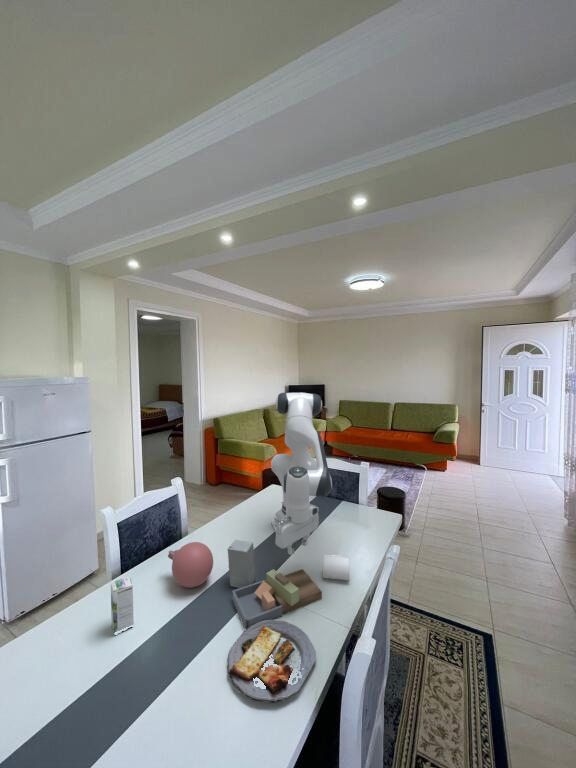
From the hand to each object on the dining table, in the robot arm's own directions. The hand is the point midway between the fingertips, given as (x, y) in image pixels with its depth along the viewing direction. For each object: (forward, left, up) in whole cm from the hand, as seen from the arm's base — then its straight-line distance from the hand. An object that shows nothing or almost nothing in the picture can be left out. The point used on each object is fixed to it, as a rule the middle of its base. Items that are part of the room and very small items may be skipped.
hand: (297, 549), depth 117 cm
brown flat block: (0, -2, -17) cm, 17 cm away
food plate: (+20, -20, -17) cm, 33 cm away
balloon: (-25, -35, -17) cm, 46 cm away
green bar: (+1, -7, -14) cm, 16 cm away
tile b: (+3, -12, -14) cm, 19 cm away
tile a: (-2, -12, -15) cm, 19 cm away
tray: (0, -17, -17) cm, 24 cm away
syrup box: (-13, -58, -17) cm, 62 cm away
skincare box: (-14, -17, -17) cm, 28 cm away
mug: (-2, +19, -17) cm, 26 cm away
